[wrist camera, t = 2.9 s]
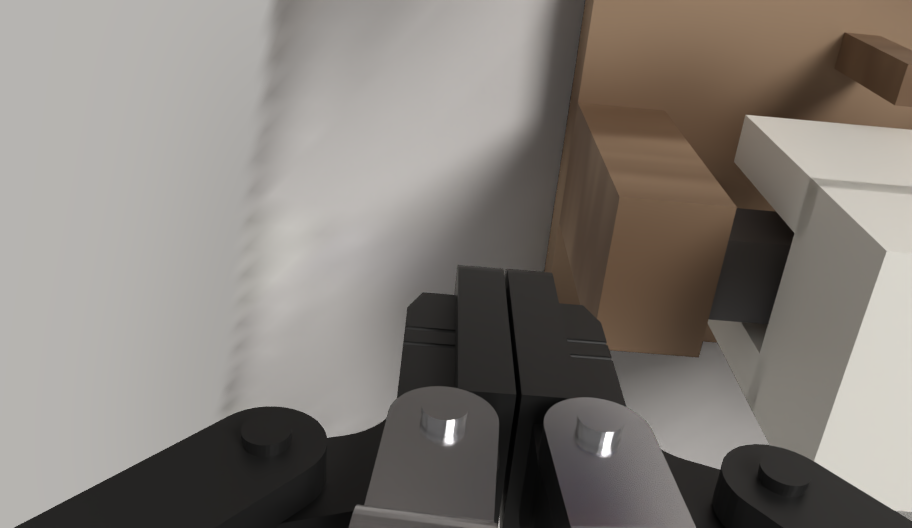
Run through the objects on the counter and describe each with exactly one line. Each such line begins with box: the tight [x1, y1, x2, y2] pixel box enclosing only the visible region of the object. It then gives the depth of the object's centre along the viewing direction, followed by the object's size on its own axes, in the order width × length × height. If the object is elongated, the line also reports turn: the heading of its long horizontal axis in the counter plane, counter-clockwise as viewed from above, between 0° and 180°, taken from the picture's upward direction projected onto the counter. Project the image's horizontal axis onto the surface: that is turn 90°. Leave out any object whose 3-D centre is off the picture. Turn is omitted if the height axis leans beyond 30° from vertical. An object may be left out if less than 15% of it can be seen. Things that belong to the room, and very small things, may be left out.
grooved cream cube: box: [708, 115, 912, 512], centre depth 15 cm, size 4×4×6 cm
